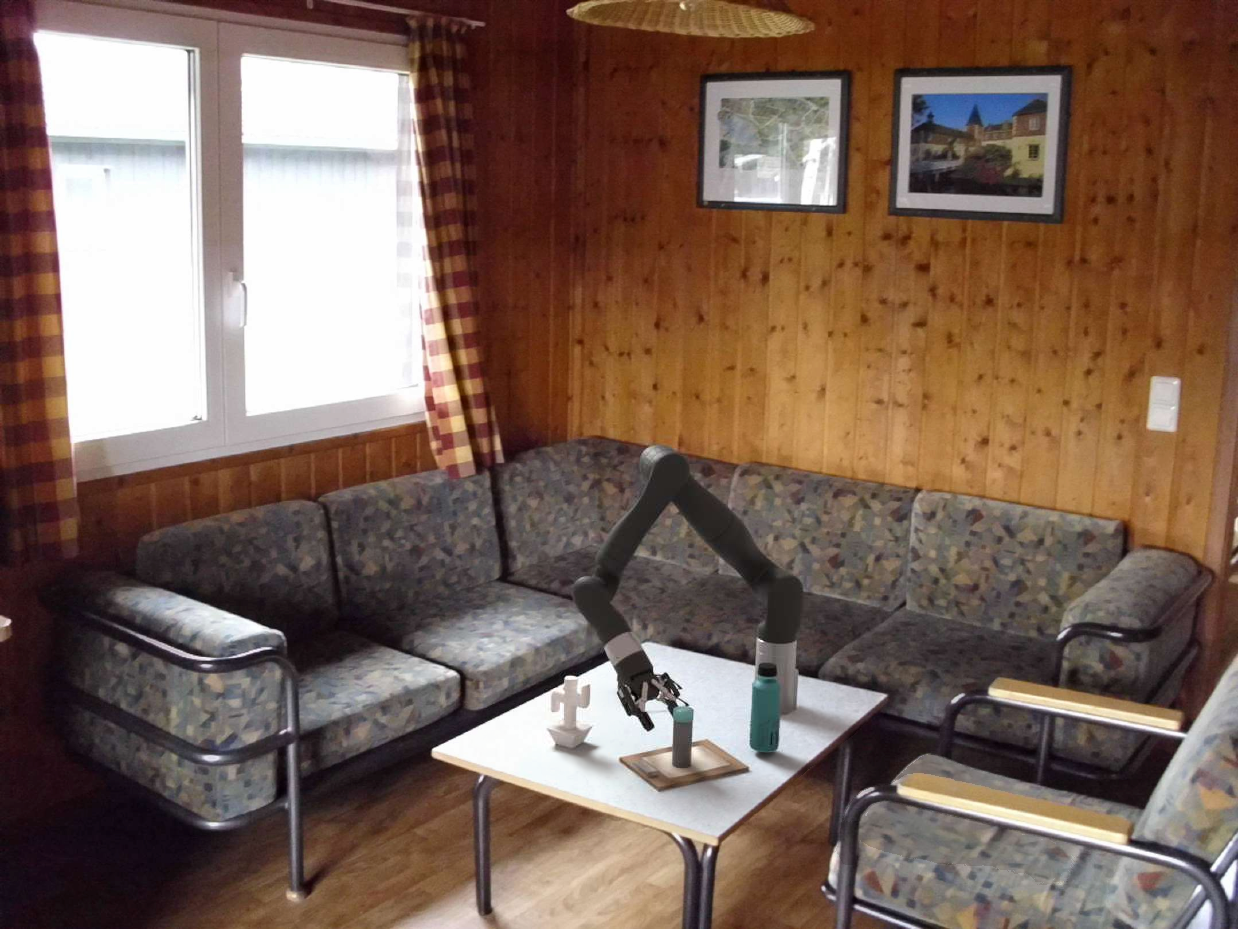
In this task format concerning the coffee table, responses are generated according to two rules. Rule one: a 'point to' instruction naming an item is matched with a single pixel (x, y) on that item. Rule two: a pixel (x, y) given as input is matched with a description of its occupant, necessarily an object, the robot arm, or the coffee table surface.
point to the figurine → (570, 713)
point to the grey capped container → (682, 736)
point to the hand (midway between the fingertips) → (665, 724)
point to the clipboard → (704, 766)
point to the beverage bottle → (765, 710)
